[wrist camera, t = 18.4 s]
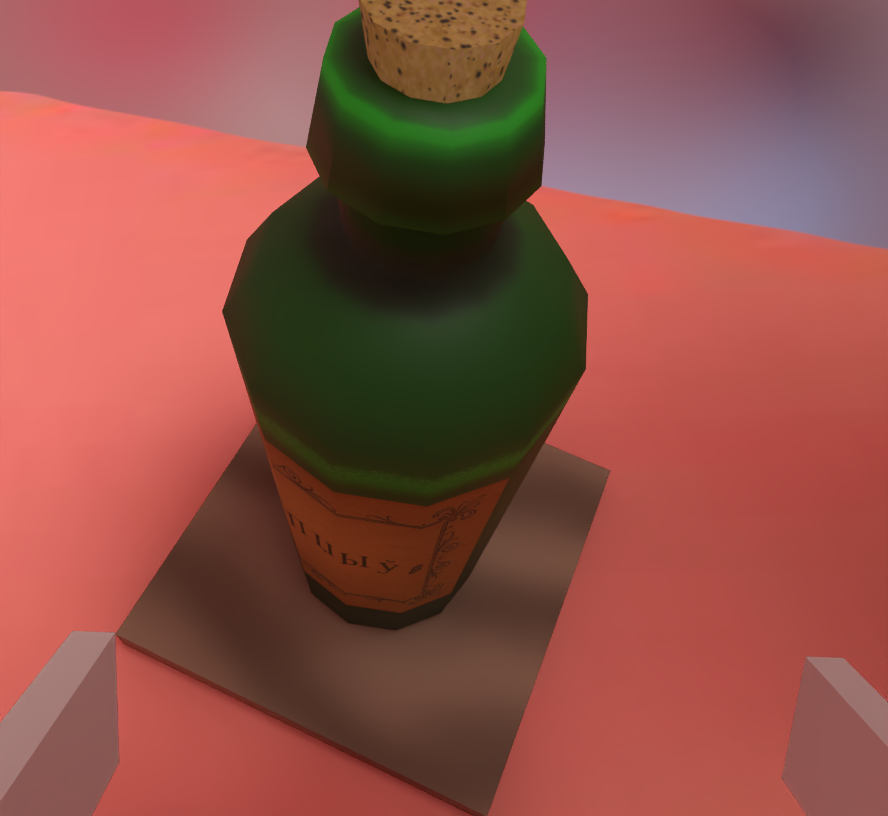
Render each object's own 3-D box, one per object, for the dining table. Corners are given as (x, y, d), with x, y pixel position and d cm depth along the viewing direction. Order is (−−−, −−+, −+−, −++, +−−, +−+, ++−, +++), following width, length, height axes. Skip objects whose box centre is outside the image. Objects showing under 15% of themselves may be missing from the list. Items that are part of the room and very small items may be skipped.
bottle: (233, 522, 39) (50, -70, 15) (408, 415, 43) (480, -180, 19) (359, 705, 35) (379, 299, 11) (537, 569, 39) (828, 61, 15)
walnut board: (310, 359, 46) (309, 344, 45) (602, 483, 44) (610, 470, 42) (123, 643, 37) (115, 634, 35) (481, 819, 34) (486, 816, 33)
